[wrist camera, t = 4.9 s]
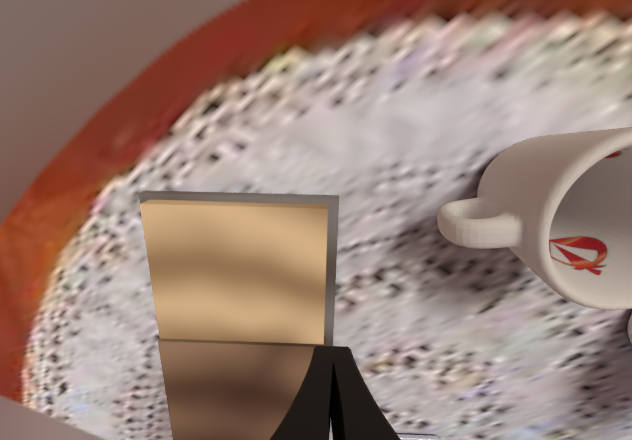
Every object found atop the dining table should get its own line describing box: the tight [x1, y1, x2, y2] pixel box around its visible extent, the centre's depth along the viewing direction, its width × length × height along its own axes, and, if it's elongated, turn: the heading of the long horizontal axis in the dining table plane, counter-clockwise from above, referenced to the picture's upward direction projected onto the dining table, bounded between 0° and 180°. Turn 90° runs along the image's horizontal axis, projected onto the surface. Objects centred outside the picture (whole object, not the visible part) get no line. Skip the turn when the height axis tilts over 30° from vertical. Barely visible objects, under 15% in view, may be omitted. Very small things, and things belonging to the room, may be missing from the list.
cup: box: [437, 127, 632, 310], centre depth 17 cm, size 11×8×8 cm
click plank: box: [140, 200, 328, 344], centre depth 21 cm, size 10×12×1 cm
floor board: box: [139, 191, 339, 440], centre depth 23 cm, size 21×13×2 cm, turn 179°
